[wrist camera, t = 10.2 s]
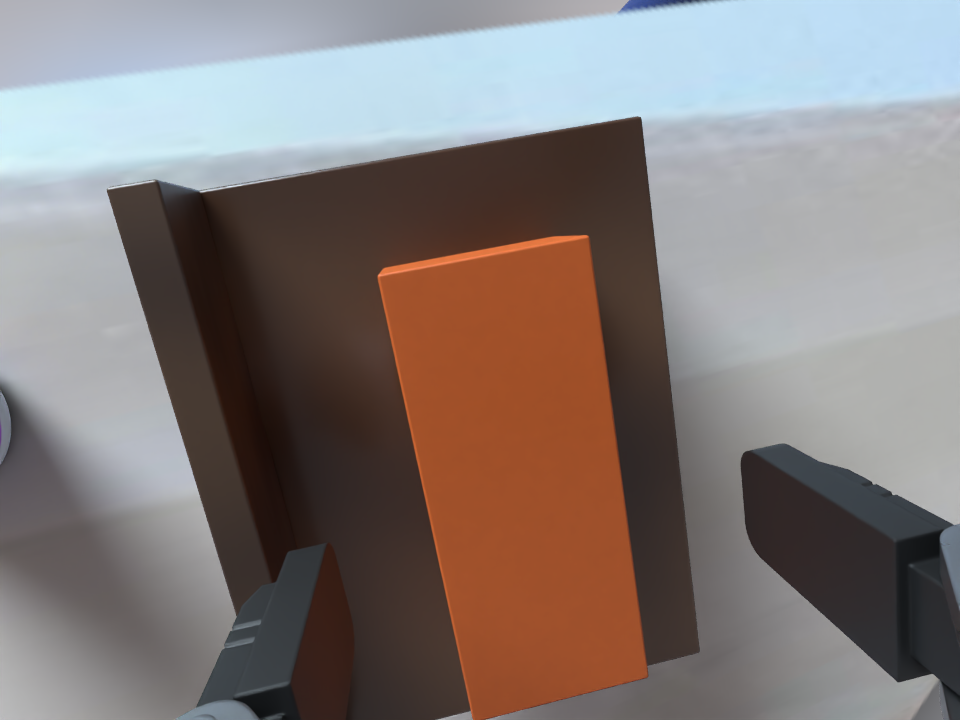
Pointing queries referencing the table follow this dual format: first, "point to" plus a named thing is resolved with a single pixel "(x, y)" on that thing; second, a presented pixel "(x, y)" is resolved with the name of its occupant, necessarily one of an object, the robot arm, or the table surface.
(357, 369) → the shelf
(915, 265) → the table surface
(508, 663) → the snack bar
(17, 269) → the table surface
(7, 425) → the supplement bottle
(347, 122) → the table surface
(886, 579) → the robot arm
